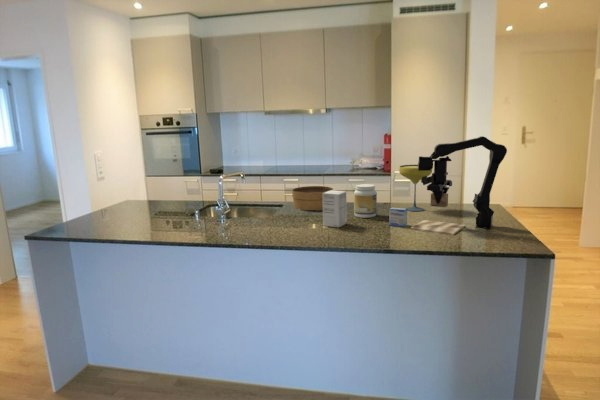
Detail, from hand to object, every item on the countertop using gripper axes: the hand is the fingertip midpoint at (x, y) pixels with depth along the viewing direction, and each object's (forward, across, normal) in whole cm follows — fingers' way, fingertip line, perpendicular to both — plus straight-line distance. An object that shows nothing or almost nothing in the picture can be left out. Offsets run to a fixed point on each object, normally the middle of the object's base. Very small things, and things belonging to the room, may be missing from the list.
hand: (439, 202), depth 203 cm
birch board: (+11, +4, +1) cm, 12 cm away
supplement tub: (+12, -2, -41) cm, 43 cm away
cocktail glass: (+12, -30, -24) cm, 40 cm away
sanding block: (+2, 0, 0) cm, 2 cm away
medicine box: (+12, +9, -17) cm, 23 cm away
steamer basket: (+12, -8, -81) cm, 82 cm away
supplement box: (+12, +23, -45) cm, 52 cm away
